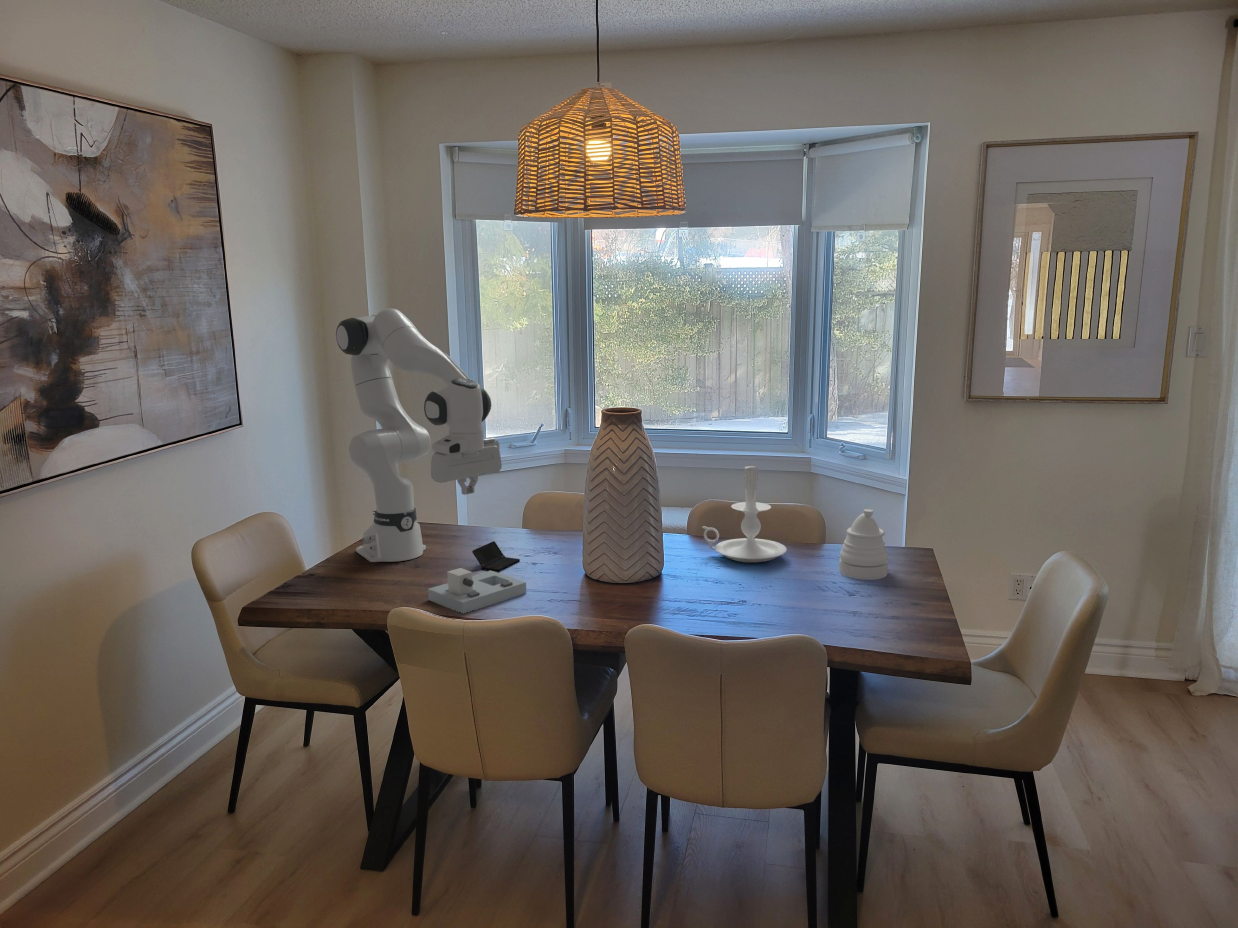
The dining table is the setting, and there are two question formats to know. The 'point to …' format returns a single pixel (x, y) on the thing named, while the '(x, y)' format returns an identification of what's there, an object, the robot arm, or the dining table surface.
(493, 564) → the handheld gaming console
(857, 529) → the honey pot
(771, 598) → the dining table surface
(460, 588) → the plug
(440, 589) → the plate
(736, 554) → the candlestick
